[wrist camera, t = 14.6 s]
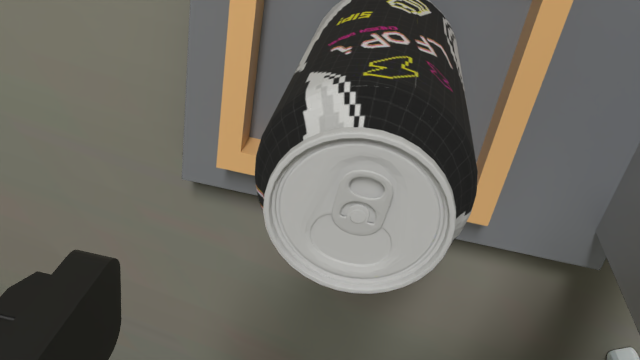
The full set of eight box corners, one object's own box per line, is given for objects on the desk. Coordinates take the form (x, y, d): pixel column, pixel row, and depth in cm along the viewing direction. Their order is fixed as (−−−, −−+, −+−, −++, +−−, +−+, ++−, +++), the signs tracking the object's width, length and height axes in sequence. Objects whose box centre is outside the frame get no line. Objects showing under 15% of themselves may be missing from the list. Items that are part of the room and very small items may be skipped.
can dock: (773, -110, 21) (1663, 52, 6) (592, 250, 29) (769, 695, 14) (213, -216, 22) (-248, -309, 7) (192, 163, 30) (-37, 498, 15)
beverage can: (477, 2, 23) (524, 146, 12) (432, 134, 26) (439, 338, 15) (330, -36, 23) (256, 78, 13) (302, 100, 26) (222, 282, 16)
